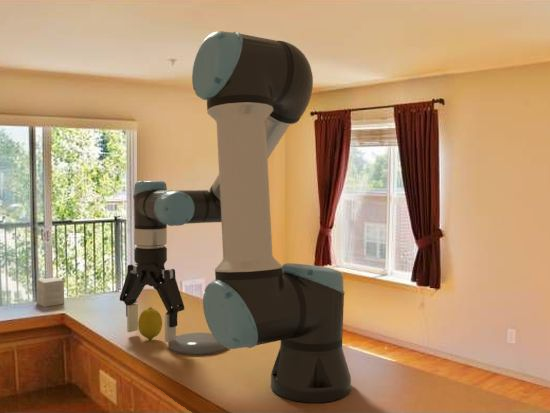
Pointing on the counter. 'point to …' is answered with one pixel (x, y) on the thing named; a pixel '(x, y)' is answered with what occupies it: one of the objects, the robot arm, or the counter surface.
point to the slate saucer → (196, 344)
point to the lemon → (150, 323)
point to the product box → (50, 291)
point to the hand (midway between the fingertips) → (151, 335)
